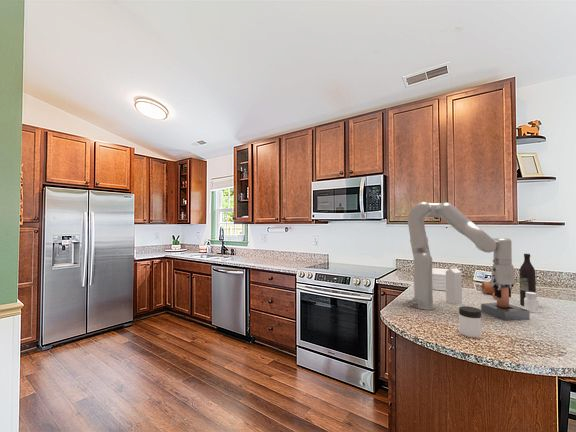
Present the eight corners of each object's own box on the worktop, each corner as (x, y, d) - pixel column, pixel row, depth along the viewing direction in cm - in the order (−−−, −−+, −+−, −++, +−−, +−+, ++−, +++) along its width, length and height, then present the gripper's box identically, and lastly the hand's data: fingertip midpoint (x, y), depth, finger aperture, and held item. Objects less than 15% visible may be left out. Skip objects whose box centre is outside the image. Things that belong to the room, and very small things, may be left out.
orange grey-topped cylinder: (502, 307, 143) (502, 287, 143) (494, 304, 148) (494, 284, 148) (511, 307, 143) (511, 286, 143) (502, 304, 148) (502, 284, 148)
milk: (462, 303, 168) (461, 266, 168) (455, 304, 166) (454, 267, 166) (452, 301, 174) (452, 265, 174) (445, 302, 171) (445, 266, 171)
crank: (481, 291, 197) (481, 280, 197) (495, 292, 194) (495, 281, 194) (490, 298, 178) (490, 286, 179) (505, 300, 176) (505, 287, 176)
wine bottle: (519, 302, 169) (518, 252, 169) (535, 304, 165) (534, 253, 165) (520, 305, 163) (519, 254, 164) (537, 307, 159) (535, 254, 160)
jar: (461, 331, 126) (460, 304, 126) (482, 336, 121) (482, 308, 121) (457, 337, 119) (457, 309, 119) (480, 343, 114) (479, 313, 114)
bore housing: (504, 322, 137) (504, 311, 137) (481, 312, 151) (481, 303, 151) (529, 320, 139) (529, 310, 139) (504, 311, 153) (504, 302, 153)
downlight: (540, 314, 148) (539, 295, 148) (522, 311, 153) (522, 293, 153) (539, 310, 154) (539, 292, 154) (523, 308, 159) (522, 290, 159)
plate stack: (468, 287, 210) (467, 271, 210) (449, 292, 194) (449, 276, 194) (431, 280, 233) (431, 266, 233) (411, 285, 217) (411, 270, 218)
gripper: (494, 263, 141) (494, 299, 141) (523, 262, 143) (524, 298, 143) (481, 261, 148) (482, 295, 148) (510, 260, 151) (510, 294, 150)
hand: (502, 296), depth 145 cm, fingers closed on orange grey-topped cylinder, 5 cm apart
